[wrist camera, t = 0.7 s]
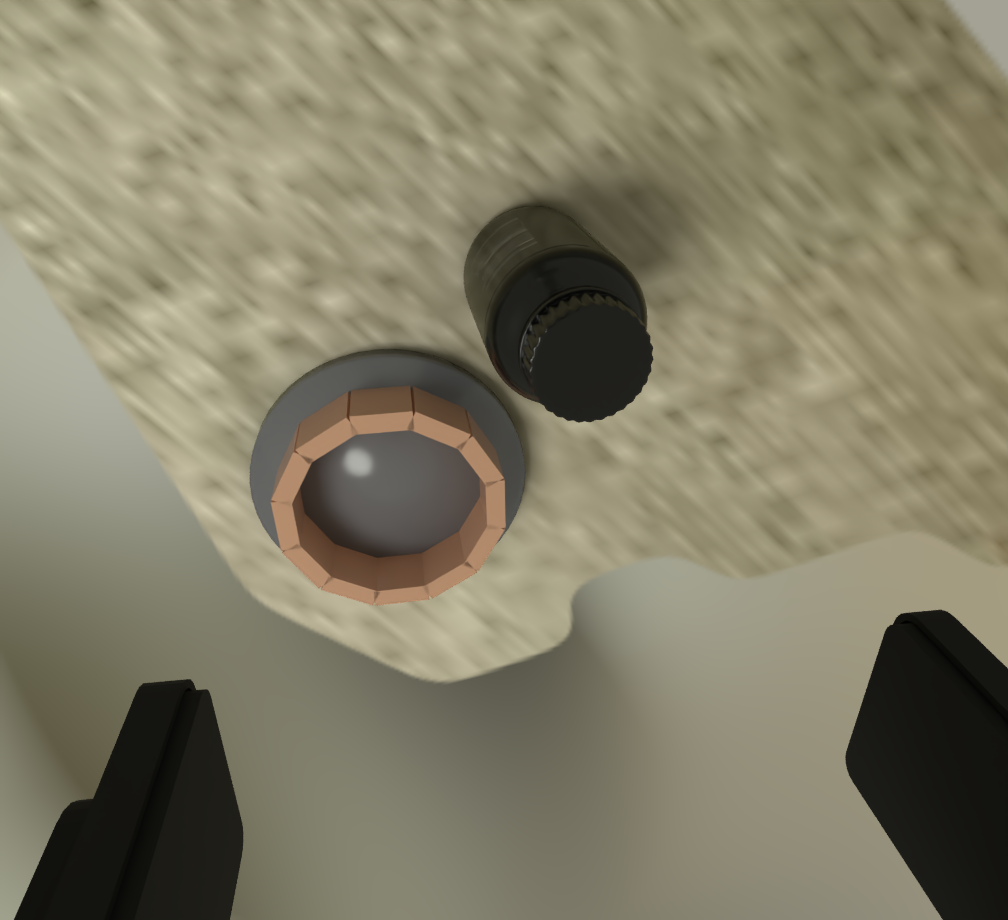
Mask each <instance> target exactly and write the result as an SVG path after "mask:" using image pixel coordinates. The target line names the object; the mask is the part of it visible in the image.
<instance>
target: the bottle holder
mask: <svg viewBox="0 0 1008 920" xmlns="http://www.w3.org/2000/svg"><path fill="white" fill-rule="evenodd" d="M524 479H525V466H524V456H523V452H522V448H521V443H520V440H519V438H518V435H517V432H516V430H515V427H514V425H513V422H512V420H511V418H510V416H509V414H508V413H507V411H506V409H505V407H504V406H503V404H502V403H501V402H500V401H499V399H498V398H497V397H496V396H495V394H494V393H493V392H492V391H491V390H490V389H489V388H488V387H487V386H486V385H485V384H483V383H482V382H481V381H480V380H479V379H477V378H476V377H474V376H473V375H472V374H470V373H469V372H467V371H466V370H464V369H462V368H460V367H458V366H456V365H454V364H453V363H451V362H448V361H445V360H443V359H440V358H437V357H435V356H431V355H427V354H422V353H418V352H412V351H403V350H373V351H366V352H358V353H355V354H351V355H347V356H343V357H339V358H337V359H335V360H332V361H330V362H327V363H325V364H322V365H320V366H319V367H317V368H315V369H313V370H311V371H310V372H308V373H306V374H305V375H303V376H302V377H301V378H299V379H298V380H297V381H296V382H294V383H293V384H292V385H291V386H290V387H289V388H288V389H287V390H286V391H285V392H284V393H283V394H282V395H281V396H280V397H279V398H278V399H277V401H276V402H275V403H274V405H273V406H272V407H271V409H270V410H269V412H268V413H267V415H266V417H265V419H264V421H263V423H262V425H261V427H260V430H259V433H258V436H257V439H256V442H255V445H254V449H253V453H252V459H251V464H250V488H251V494H252V500H253V503H254V506H255V509H256V512H257V515H258V517H259V519H260V521H261V523H262V525H263V527H264V528H265V530H266V531H267V533H268V534H269V536H270V537H271V539H272V540H273V541H274V542H275V543H276V545H277V546H278V547H279V548H280V549H281V551H283V552H282V553H283V554H284V555H285V556H286V557H287V558H288V559H289V560H290V561H291V562H292V563H293V564H294V565H295V566H296V567H297V568H298V569H299V570H301V571H302V572H303V573H304V574H305V575H306V576H307V577H308V578H309V579H310V580H311V581H312V582H313V583H314V584H315V585H316V586H317V587H318V588H320V587H322V588H321V590H324V591H327V592H331V593H334V594H337V595H341V596H344V597H347V598H350V599H354V600H357V601H360V602H364V603H367V604H370V605H373V604H374V602H375V605H384V604H393V603H402V602H411V601H419V600H428V599H429V596H430V597H431V598H434V597H436V596H437V595H439V594H441V593H443V592H444V591H446V590H448V589H449V588H451V587H453V586H455V585H456V584H458V583H460V582H462V581H463V580H465V579H467V578H468V577H470V576H472V575H474V574H475V573H477V570H478V571H479V570H480V568H481V567H482V565H483V564H484V562H485V560H486V559H487V557H488V556H489V554H490V553H491V551H492V549H493V548H494V546H495V545H496V544H497V543H498V541H499V540H500V539H501V538H502V536H503V535H504V534H505V532H506V531H507V529H508V528H509V526H510V524H511V523H512V521H513V519H514V517H515V515H516V513H517V510H518V507H519V505H520V502H521V498H522V494H523V489H524Z"/></svg>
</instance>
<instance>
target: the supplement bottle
mask: <svg viewBox="0 0 1008 920" xmlns="http://www.w3.org/2000/svg"><path fill="white" fill-rule="evenodd" d="M464 288H465V293H466V297H467V300H468V303H469V306H470V309H471V312H472V314H473V317H474V320H475V322H476V325H477V327H478V330H479V332H480V335H481V337H482V340H483V343H484V345H485V348H486V350H487V353H488V355H489V358H490V360H491V362H492V364H493V366H494V368H495V369H496V371H497V373H498V374H499V376H500V377H501V378H502V380H503V381H504V382H505V383H506V384H507V385H508V386H509V387H510V388H511V389H513V390H514V391H515V392H517V393H518V394H520V395H522V396H523V397H525V398H527V399H530V400H532V401H535V402H538V403H541V404H542V405H544V406H545V408H546V410H547V411H550V412H553V413H554V414H555V415H556V416H557V417H563V418H565V419H566V420H567V421H571V420H574V421H576V422H583V421H586V422H592V421H594V420H602V419H604V418H605V417H607V416H612V415H614V414H615V413H616V412H617V411H620V410H623V409H624V408H625V407H626V406H627V404H629V403H631V402H633V401H634V399H635V397H636V396H637V395H638V394H639V393H641V391H642V387H643V386H644V385H645V384H646V383H647V380H648V375H649V374H650V372H651V364H652V361H653V356H652V350H653V346H652V345H651V343H650V335H649V334H648V332H647V331H646V330H647V308H646V303H645V299H644V295H643V292H642V290H641V288H640V286H639V284H638V282H637V280H636V279H635V277H634V276H633V275H632V273H631V272H630V271H629V270H628V269H627V267H626V266H625V265H624V264H623V263H622V262H621V261H620V260H618V259H617V258H616V257H615V256H614V255H613V254H612V253H611V252H610V251H609V250H607V249H606V248H605V247H604V246H603V245H602V244H601V243H600V242H599V241H597V240H596V239H595V238H594V237H593V236H592V235H591V234H590V233H589V232H588V231H586V230H585V229H584V228H583V227H582V226H581V225H580V224H579V223H577V222H576V221H575V220H573V219H572V218H571V217H569V216H567V215H566V214H564V213H562V212H560V211H557V210H555V209H551V208H547V207H541V206H527V207H521V208H516V209H513V210H510V211H508V212H506V213H503V214H502V215H500V216H498V217H496V218H495V219H494V220H492V221H491V222H490V223H489V224H488V225H486V226H485V227H484V228H483V230H482V231H481V232H480V233H479V234H478V236H477V237H476V239H475V240H474V242H473V243H472V245H471V247H470V250H469V252H468V255H467V258H466V261H465V267H464Z"/></svg>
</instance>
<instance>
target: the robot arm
mask: <svg viewBox="0 0 1008 920" xmlns="http://www.w3.org/2000/svg"><path fill="white" fill-rule="evenodd" d="M846 766H847V770H848V773H849V776H850V778H851V779H852V781H853V783H854V784H855V786H856V787H857V789H858V790H859V792H860V793H861V795H862V797H863V798H864V800H865V801H866V803H867V804H868V806H869V807H870V809H871V810H872V812H873V813H874V815H875V817H876V818H877V819H878V821H879V822H880V824H881V826H882V827H883V829H884V830H885V832H886V833H887V835H888V836H889V838H890V839H891V841H892V843H893V844H894V846H895V847H896V849H897V850H898V852H899V853H900V855H901V856H902V858H903V859H904V861H905V862H906V864H907V866H908V867H909V869H910V870H911V871H912V873H913V875H914V876H915V878H916V879H917V881H918V882H919V884H920V885H921V887H922V888H923V890H924V892H925V893H926V895H927V896H928V897H929V899H930V901H931V902H932V904H933V905H934V907H935V908H936V910H937V911H938V913H939V914H940V916H941V918H942V919H943V920H1008V668H1007V667H1006V666H1005V665H1003V663H1002V662H1000V661H999V660H998V659H997V658H996V657H995V656H994V655H993V654H992V653H991V652H990V651H989V650H988V649H987V648H986V647H985V646H984V645H983V644H982V643H981V642H980V641H979V640H978V639H977V638H976V637H975V636H974V635H973V634H971V633H970V632H969V631H968V630H967V629H966V628H965V627H964V626H963V625H962V624H961V623H960V622H959V621H958V620H957V619H956V618H955V617H954V616H952V615H951V614H950V613H948V612H946V611H943V610H933V611H922V612H912V613H903V614H900V615H899V616H898V617H897V618H896V620H895V621H894V623H893V625H890V626H889V627H887V629H886V631H885V634H884V637H883V640H882V643H881V646H880V649H879V652H878V655H877V658H876V661H875V664H874V667H873V671H872V674H871V677H870V680H869V683H868V687H867V689H866V692H865V695H864V698H863V702H862V705H861V708H860V711H859V714H858V717H857V720H856V723H855V726H854V730H853V733H852V736H851V739H850V742H849V745H848V748H847V751H846ZM242 850H243V826H242V821H241V817H240V813H239V809H238V805H237V800H236V796H235V792H234V788H233V784H232V780H231V776H230V772H229V768H228V764H227V760H226V756H225V752H224V748H223V744H222V740H221V735H220V731H219V728H218V724H217V719H216V715H215V711H214V707H213V703H212V699H211V696H210V693H209V691H208V690H196V688H195V686H194V683H193V682H192V681H191V680H190V679H187V680H176V681H165V682H154V683H143V684H142V685H141V686H140V687H139V689H138V690H137V692H136V694H135V697H134V699H133V702H132V704H131V707H130V709H129V712H128V714H127V717H126V719H125V722H124V724H123V727H122V729H121V731H120V734H119V736H118V739H117V741H116V744H115V746H114V749H113V751H112V754H111V756H110V759H109V761H108V764H107V766H106V768H105V771H104V774H103V776H102V778H101V781H100V783H99V786H98V789H97V791H96V793H95V796H94V798H93V799H86V800H78V801H75V802H72V803H70V805H69V806H68V807H67V808H66V809H65V810H64V811H63V812H62V814H61V816H60V818H59V820H58V822H57V823H56V825H55V828H54V830H53V832H52V834H51V837H50V839H49V841H48V843H47V846H46V848H45V850H44V853H43V855H42V857H41V860H40V862H39V864H38V866H37V869H36V871H35V873H34V875H33V878H32V880H31V882H30V884H29V887H28V889H27V891H26V893H25V896H24V898H23V900H22V903H21V905H20V907H19V909H18V912H17V914H16V916H15V918H14V920H230V916H231V911H232V905H233V900H234V895H235V889H236V884H237V879H238V873H239V868H240V862H241V857H242Z"/></svg>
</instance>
